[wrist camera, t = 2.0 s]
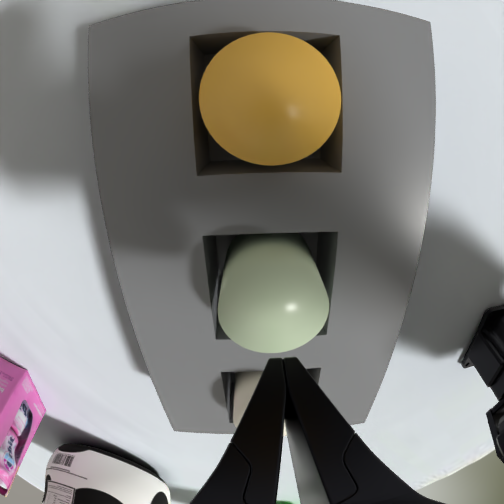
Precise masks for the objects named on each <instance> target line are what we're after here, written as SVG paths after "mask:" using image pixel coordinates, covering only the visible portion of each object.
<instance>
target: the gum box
mask: <svg viewBox="0 0 504 504" xmlns="http://www.w3.org/2000/svg"><path fill="white" fill-rule="evenodd" d="M45 412H46V409H45V407H44V406H43V404H42V402H41V399H40V397H39V395H38V393H37V390H36V388H35V386H34V384H33V382H32V380H31V378H30V376H29V373H28V371H27V370H26V369H23V368H20V367H18V366H16V365H14V364H12V363H10V362H8V361H6V360H5V359H3V358H1V357H0V494H2V495H4V496H5V497H7V495H8V493H9V490H10V488H11V486H12V483H13V481H14V479H15V476H16V474H17V471H18V469H19V467H20V464H21V462H22V460H23V458H24V456H25V453H26V451H27V449H28V447H29V445H30V443H31V441H32V439H33V437H34V435H35V433H36V430H37V428H38V426H39V424H40V422H41V420H42V418H43V416H44V414H45Z"/></svg>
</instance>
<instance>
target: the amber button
mask: <svg viewBox="0 0 504 504" xmlns="http://www.w3.org/2000/svg"><path fill="white" fill-rule="evenodd" d="M199 106H200V112H201V115H202V119H203V121H204V124H205V126H206V128H207V129H208V131H209V133H210V134H211V136H212V137H213V138H214V140H215V141H216V142H217V143H218V144H219V145H220V146H221V147H222V148H224V149H225V150H226V151H228V152H229V153H230V154H232V155H234V156H236V157H237V158H240V159H242V160H244V161H247V162H250V163H254V164H259V165H270V166H275V165H284V164H289V163H293V162H296V161H299V160H301V159H303V158H305V157H307V156H309V155H310V154H312V153H313V152H315V151H316V150H317V149H319V148H320V147H321V146H322V145H323V144H324V143H325V142H326V141H327V139H328V138H329V137H330V135H331V134H332V132H333V130H334V128H335V126H336V124H337V121H338V118H339V115H340V109H341V91H340V86H339V82H338V79H337V77H336V74H335V72H334V70H333V68H332V67H331V65H330V64H329V62H328V61H327V59H326V58H325V57H324V56H323V55H322V54H321V53H320V52H319V51H318V50H317V49H315V48H314V47H313V46H311V45H310V44H308V43H307V42H305V41H303V40H301V39H299V38H296V37H293V36H290V35H287V34H282V33H273V32H265V33H256V34H251V35H247V36H244V37H241V38H239V39H237V40H235V41H233V42H231V43H230V44H228V45H227V46H225V47H224V48H223V49H222V50H220V51H219V52H218V53H217V54H216V55H215V56H214V58H213V59H212V60H211V62H210V63H209V65H208V66H207V68H206V70H205V72H204V74H203V77H202V80H201V83H200V89H199Z"/></svg>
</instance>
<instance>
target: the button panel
mask: <svg viewBox="0 0 504 504" xmlns="http://www.w3.org/2000/svg"><path fill="white" fill-rule="evenodd" d="M265 32H273V33H282V34H287V35H290V36H293V37H296V38H299V39H301V40H303V41H305V42H307V43H308V44H310V45H311V46H313V47H314V48H315V49H317V50H318V51H319V52H320V53H321V54H322V55H323V56H324V57H325V58H326V59H327V61H328V62H329V64H330V65H331V67H332V68H333V70H334V72H335V74H336V77H337V79H338V82H339V86H340V91H341V109H340V115H339V118H338V121H337V124H336V126H335V128H334V130H333V132H332V134H331V135H330V137H329V138H328V139H327V141H326V142H325V143H324V144H323V145H322V146H321V147H320V148H319V149H317V150H316V151H315V152H313V153H312V154H310V155H309V156H307V157H305V158H303V159H301V160H299V161H296V162H293V163H289V164H284V165H275V166H270V165H259V164H254V163H250V162H247V161H244V160H242V159H240V158H237V157H236V156H234V155H232V154H230V153H229V152H228V151H226V150H225V149H224V148H222V147H221V146H220V145H219V144H218V143H217V142H216V141H215V140H214V138H213V137H212V136H211V134H210V133H209V131H208V129H207V128H206V126H205V124H204V121H203V119H202V115H201V112H200V106H199V89H200V83H201V80H202V77H203V74H204V72H205V70H206V68H207V66H208V65H209V63H210V62H211V60H212V59H213V58H214V56H215V55H216V54H217V53H218V52H219V51H220V50H222V49H223V48H224V47H225V46H227V45H228V44H230V43H231V42H233V41H235V40H237V39H239V38H241V37H244V36H247V35H251V34H256V33H265ZM88 84H89V105H90V119H91V131H92V141H93V150H94V158H95V166H96V173H97V180H98V186H99V192H100V198H101V204H102V209H103V214H104V219H105V224H106V229H107V234H108V238H109V243H110V247H111V252H112V256H113V260H114V264H115V268H116V272H117V275H118V279H119V283H120V287H121V290H122V294H123V297H124V301H125V304H126V307H127V311H128V314H129V317H130V320H131V323H132V326H133V329H134V332H135V335H136V338H137V341H138V344H139V347H140V350H141V353H142V355H143V358H144V361H145V364H146V366H147V369H148V371H149V374H150V377H151V379H152V382H153V384H154V387H155V389H156V392H157V394H158V396H159V399H160V401H161V403H162V406H163V408H164V410H165V413H166V415H167V417H168V419H169V421H170V424H171V426H172V428H173V430H174V431H180V432H194V433H214V434H234V433H235V431H236V429H237V428H236V427H235V425H234V423H233V410H234V389H235V372H253V371H263V370H264V368H265V366H266V364H267V361H268V359H269V358H278V357H281V358H282V359H283V358H284V357H297V358H298V359H299V361H300V362H301V363H302V364H303V366H304V367H305V368H306V370H307V371H308V372H309V374H310V375H311V376H312V377H313V379H314V380H315V381H316V383H317V384H318V385H319V386H320V388H321V389H322V390H323V392H324V393H325V394H326V395H327V397H328V398H329V399H330V401H331V402H332V403H333V404H334V406H335V407H336V408H337V409H338V411H339V412H340V413H341V415H342V416H343V417H344V418H345V420H346V421H347V422H348V423H349V425H354V424H360V423H364V422H365V420H366V418H367V416H368V414H369V411H370V409H371V407H372V405H373V402H374V400H375V398H376V395H377V393H378V390H379V388H380V385H381V383H382V380H383V378H384V375H385V372H386V370H387V367H388V364H389V362H390V359H391V356H392V353H393V350H394V347H395V344H396V341H397V338H398V335H399V332H400V329H401V326H402V322H403V319H404V316H405V312H406V309H407V305H408V302H409V298H410V294H411V290H412V286H413V282H414V278H415V274H416V270H417V265H418V261H419V256H420V251H421V246H422V241H423V236H424V230H425V224H426V218H427V211H428V205H429V197H430V189H431V180H432V170H433V159H434V144H435V116H436V94H435V67H434V53H433V42H432V33H431V25H430V22H429V21H425V20H422V19H419V18H416V17H412V16H409V15H405V14H401V13H397V12H393V11H389V10H385V9H380V8H376V7H371V6H366V5H360V4H354V3H348V2H341V1H334V0H198V1H190V2H183V3H177V4H171V5H166V6H160V7H155V8H151V9H146V10H142V11H138V12H134V13H130V14H126V15H122V16H119V17H115V18H112V19H108V20H105V21H102V22H99V23H96V24H93V25H90V26H89V36H88ZM297 232H298V233H299V234H300V235H301V236H302V237H303V238H304V240H305V241H306V243H307V245H308V247H309V249H310V252H311V254H312V256H313V259H314V261H315V264H316V266H317V269H318V271H319V274H320V277H321V279H322V282H323V284H324V287H325V289H326V292H327V295H328V299H329V313H328V317H327V320H326V322H325V324H324V326H323V328H322V329H321V330H320V332H319V333H318V334H317V335H316V336H315V337H314V338H313V339H311V340H310V341H309V342H307V343H306V344H304V345H302V346H300V347H298V348H296V349H293V350H290V351H286V352H281V353H260V352H255V351H252V350H249V349H246V348H244V347H242V346H240V345H238V344H236V343H235V342H234V341H232V340H231V339H230V338H229V337H228V336H227V335H226V333H225V332H224V330H223V329H222V327H221V325H220V322H219V318H218V302H219V296H220V289H221V283H222V277H223V270H224V264H225V258H226V253H227V250H228V248H229V246H230V244H231V242H232V241H233V240H234V238H235V237H236V236H237V235H238V234H264V233H297Z"/></svg>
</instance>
